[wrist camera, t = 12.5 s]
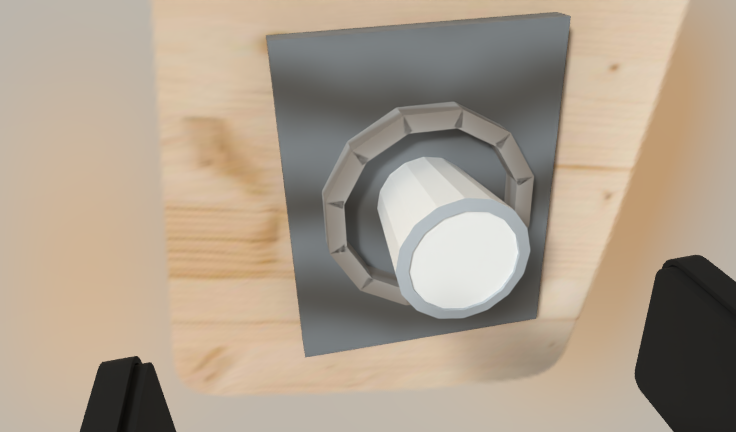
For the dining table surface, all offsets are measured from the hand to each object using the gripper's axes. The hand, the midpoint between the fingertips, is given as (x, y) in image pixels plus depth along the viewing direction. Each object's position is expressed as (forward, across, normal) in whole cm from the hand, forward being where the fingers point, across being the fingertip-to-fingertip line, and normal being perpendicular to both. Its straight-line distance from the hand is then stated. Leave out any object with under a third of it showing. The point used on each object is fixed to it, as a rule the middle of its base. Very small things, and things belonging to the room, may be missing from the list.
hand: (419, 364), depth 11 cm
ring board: (+23, -6, +9) cm, 25 cm away
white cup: (+22, -6, +9) cm, 24 cm away
